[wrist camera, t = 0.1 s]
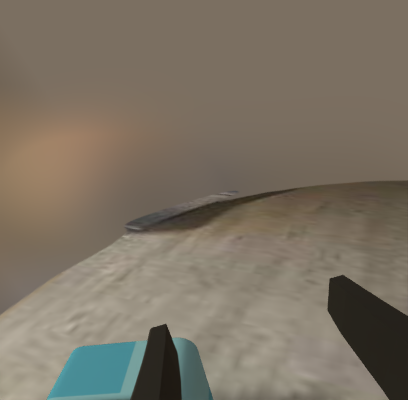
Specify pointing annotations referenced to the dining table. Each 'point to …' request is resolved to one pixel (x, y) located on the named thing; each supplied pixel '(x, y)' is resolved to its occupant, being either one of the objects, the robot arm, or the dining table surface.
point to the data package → (124, 372)
